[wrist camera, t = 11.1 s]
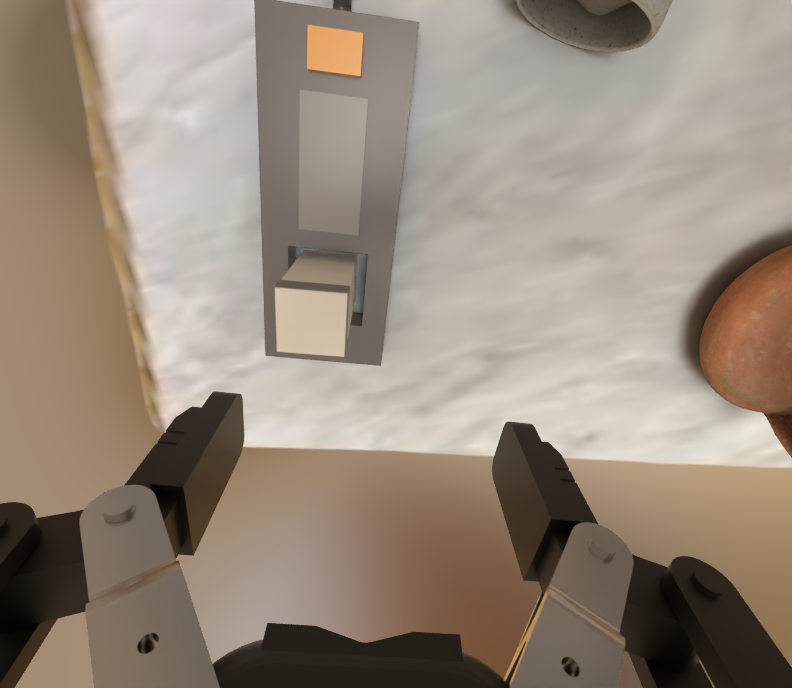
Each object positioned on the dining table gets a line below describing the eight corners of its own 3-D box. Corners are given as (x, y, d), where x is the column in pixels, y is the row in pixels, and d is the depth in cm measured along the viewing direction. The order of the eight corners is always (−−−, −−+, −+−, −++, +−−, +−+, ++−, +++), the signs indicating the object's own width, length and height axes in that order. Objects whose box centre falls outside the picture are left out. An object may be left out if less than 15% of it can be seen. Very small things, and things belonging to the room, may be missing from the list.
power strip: (262, -158, 21) (242, -208, 18) (433, -128, 22) (441, -170, 19) (273, 341, 34) (262, 360, 31) (381, 351, 34) (380, 370, 31)
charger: (303, 249, 30) (273, 286, 22) (357, 254, 31) (348, 293, 23) (303, 301, 32) (276, 353, 24) (354, 305, 33) (344, 359, 24)
